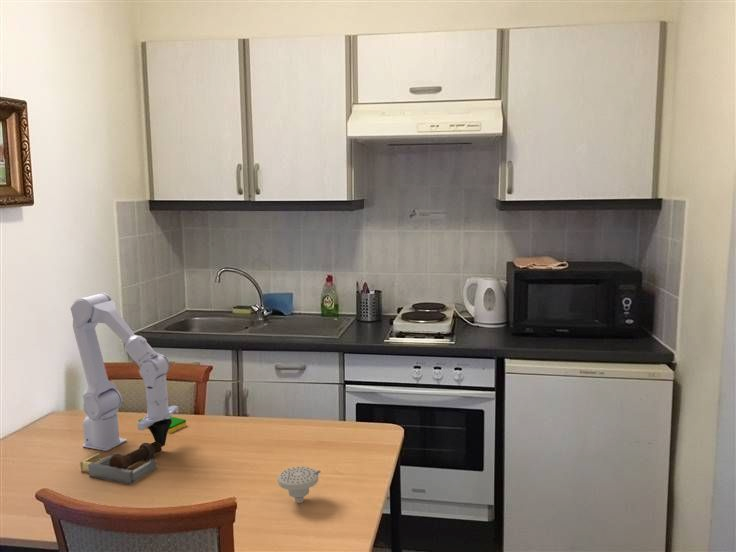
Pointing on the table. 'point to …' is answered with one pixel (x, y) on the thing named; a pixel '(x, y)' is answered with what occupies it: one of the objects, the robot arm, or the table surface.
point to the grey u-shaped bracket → (120, 471)
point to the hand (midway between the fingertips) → (160, 445)
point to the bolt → (135, 455)
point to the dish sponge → (175, 424)
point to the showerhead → (298, 481)
